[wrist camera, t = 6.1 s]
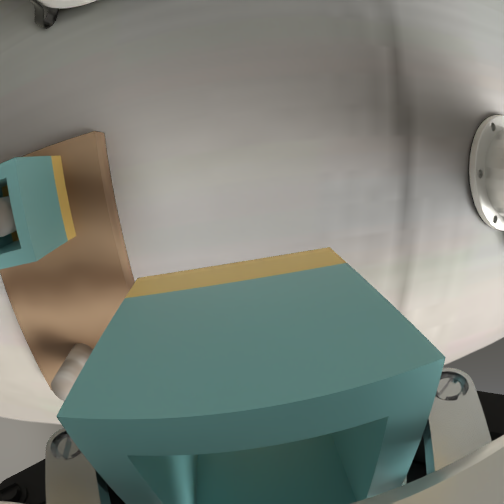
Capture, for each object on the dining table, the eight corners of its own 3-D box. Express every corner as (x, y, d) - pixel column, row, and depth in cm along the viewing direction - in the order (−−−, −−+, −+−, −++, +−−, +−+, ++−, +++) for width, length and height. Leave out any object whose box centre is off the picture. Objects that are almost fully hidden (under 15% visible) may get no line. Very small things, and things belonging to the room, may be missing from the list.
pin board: (163, 372, 27) (153, 427, 20) (58, 378, 26) (33, 423, 19) (104, 132, 20) (63, 124, 14) (-9, 173, 20) (-60, 182, 13)
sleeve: (333, 391, 11) (387, 514, 6) (184, 414, 11) (173, 547, 5) (329, 247, 10) (444, 357, 4) (138, 278, 9) (56, 416, 4)
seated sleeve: (76, 235, 20) (36, 261, 15) (18, 249, 20) (-25, 275, 14) (60, 155, 19) (14, 157, 13) (2, 177, 18) (-46, 186, 12)
